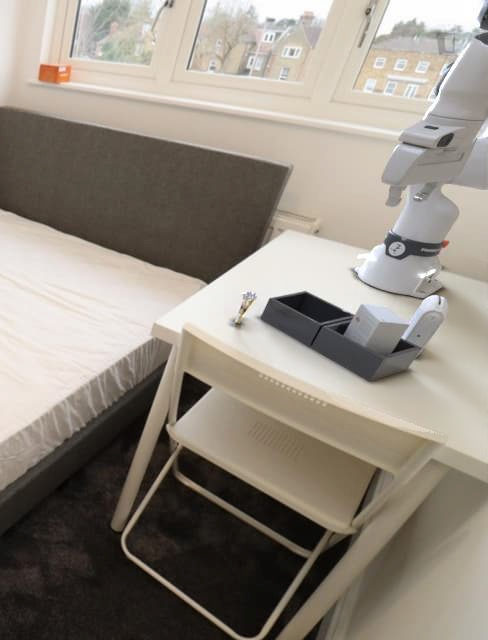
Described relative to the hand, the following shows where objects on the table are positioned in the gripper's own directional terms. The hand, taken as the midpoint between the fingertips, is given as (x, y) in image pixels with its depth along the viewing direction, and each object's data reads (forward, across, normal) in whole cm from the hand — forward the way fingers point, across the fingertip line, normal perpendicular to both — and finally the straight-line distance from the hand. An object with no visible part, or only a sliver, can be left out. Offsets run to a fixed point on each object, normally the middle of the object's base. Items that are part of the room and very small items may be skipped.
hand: (405, 203), depth 105 cm
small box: (+29, +10, +12) cm, 33 cm away
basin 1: (+29, +10, -2) cm, 31 cm away
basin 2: (+29, +10, +12) cm, 33 cm away
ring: (+29, +24, -8) cm, 39 cm away
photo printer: (+30, -6, +13) cm, 33 cm away
